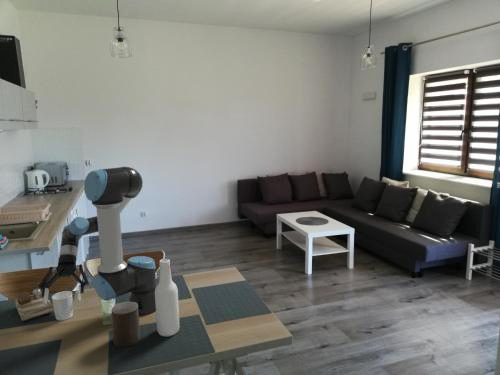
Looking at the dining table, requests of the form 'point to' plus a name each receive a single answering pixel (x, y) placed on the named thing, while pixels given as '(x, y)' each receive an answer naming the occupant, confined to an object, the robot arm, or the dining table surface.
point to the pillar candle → (125, 324)
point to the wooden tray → (33, 308)
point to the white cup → (63, 305)
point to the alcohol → (166, 302)
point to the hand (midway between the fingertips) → (61, 302)
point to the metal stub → (37, 294)
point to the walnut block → (24, 298)
